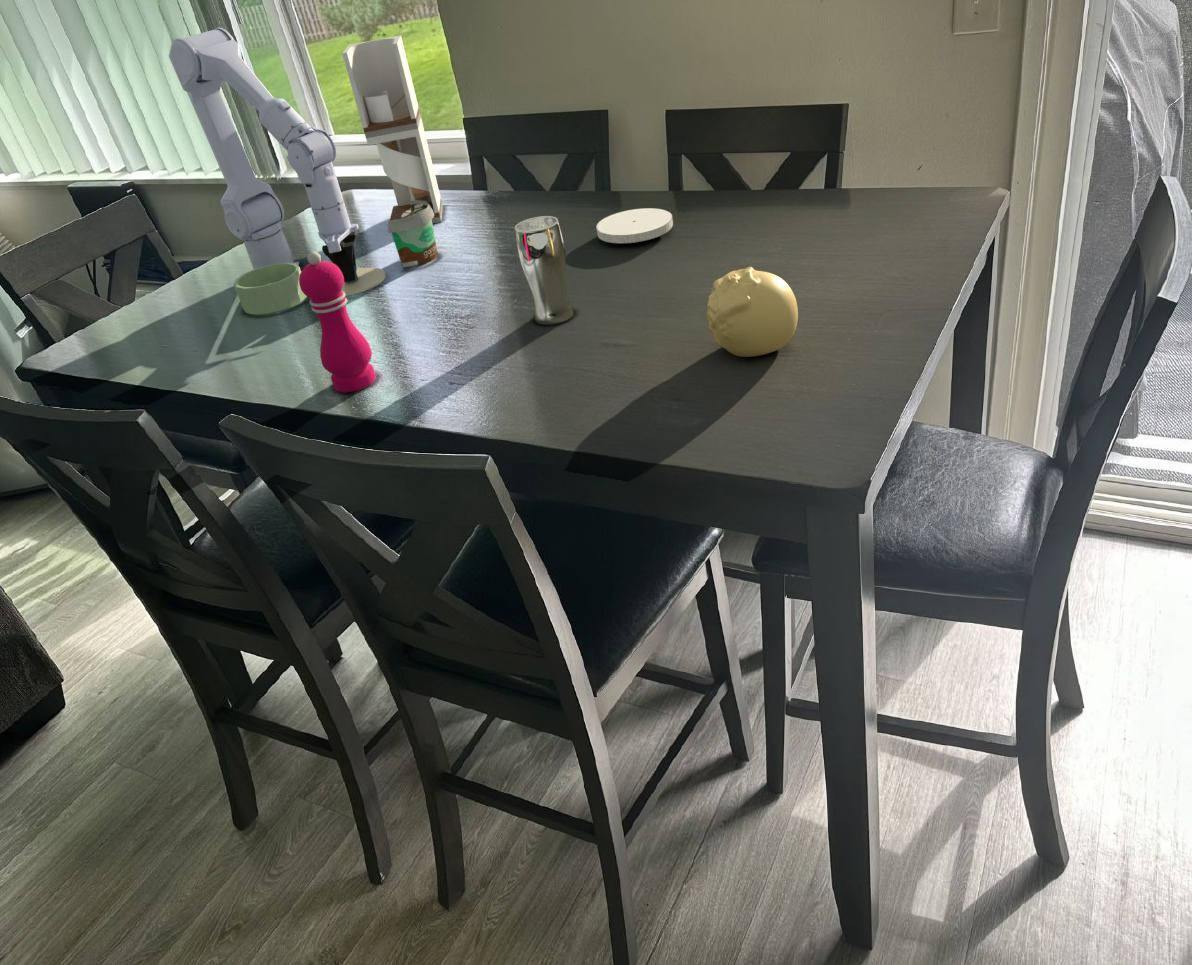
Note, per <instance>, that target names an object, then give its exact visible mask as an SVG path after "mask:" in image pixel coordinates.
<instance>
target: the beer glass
mask: <svg viewBox="0 0 1192 965" xmlns="http://www.w3.org/2000/svg"><path fill="white" fill-rule="evenodd" d="M514 231H515V238H516V245H517V246H516V247H517V251H518V257H519V261H520V265H521V267H522V271H523V274H524V277H525V278H526V282H527V284H528V286H529V289H530V291H531V294H532V298H533V304H534V320H535V322H536V323H537V324H539V325H543V326H552V325H559V324H561V323H564V322H567V321H569V320H570V319H571V318H572V317H573V315H574V310H573V307H572V305H571V302H570V300H569V295H568V290H567V256H566V255H567V254H566V248H565V242H564V238H563V234H562V229H561V227H560V223H559V218H558V217H556V216H552V215H542V216H535V217H531V218H527V219H524V220H522V221H519V222H518V223H517V224H515V226H514Z"/></svg>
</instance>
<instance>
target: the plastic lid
mask: <svg viewBox="0 0 1192 965" xmlns="http://www.w3.org/2000/svg"><path fill="white" fill-rule="evenodd" d="M673 227H674V220H673V214H672V213H671V212H670V211H668V210H665V209H661V208H654V207H653V208H652V207H650V208H649V207H647V208H646V207H645V208H634V209H628V210H624V211H619V212H616V213H613V214H610V215H608V216H605V217H604V218H603V219H601V220H599V221H598V222H597V224H596V235H597V237H598V239H599V240H601V241H603V242H606V243H611V244H632V243H633V244H635V243H639V242H645V241H649V240H652V239H655V238H658V237H661V236H663V235H665V234H667V233H668V232H669V231H671V230H672V228H673Z"/></svg>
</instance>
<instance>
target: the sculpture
mask: <svg viewBox="0 0 1192 965" xmlns="http://www.w3.org/2000/svg"><path fill="white" fill-rule="evenodd" d="M798 308H799V307H798V303H797V299H796V296H795V294H794V292H793V290H792V288H791V286H790V285H789V284H788V283H787V281H785V280H784V279H783V278H781V277H780V276H778V275H776V274H774V273H771V272H768V271H762V270H756V269H754V268H753V267H752V266H748V267H746V268H742V269H737V270H732V271H730V272H728V273H726V274H725V275H723V277H721V278H718V279H716V280H715V281H714V282H713V284H712V288H711V294H710V295H708V302H707V312H706V320H707V322H708V323H709V325H708V331H709V332H710V333H712V335H713V339H714V341H715V343H717V345H718V346H719V347H720V348H723V349H724V350H726V351H727V352H729V353H730V354H731V355H734V356H736V357H742V358H747V357H748V358H750V357H758V356H759V357H760V356H763V355H767V354H770V353H773V352H776V351H779V350H780V349H782V348H784V347H786V346H787V345H788V344H789V343H790V342H791V340H792V338H793V337H794V335H795V332H796V329H797V326H798V319H799V309H798Z"/></svg>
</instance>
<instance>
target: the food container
mask: <svg viewBox="0 0 1192 965" xmlns="http://www.w3.org/2000/svg"><path fill="white" fill-rule="evenodd" d="M410 204H411V206H410V207H409V208H408V209H407V210H406V211H403V212H401V213H400V215H399V216H398V218H397V219H396V220H390V219H389V220H387V226H388V232H389V233H390V234H391V236H392V239H393V243H394V245H395V249H396V251H397V254H398V257H399V261H400V263H401V266H402V269H411V268H416V267H419V266H423V265H425V264H428V263H430V262H432V261H434V260H435V259H436V258H437V257H438V248H437V242H436V236H435V231H434V226H433V224H432V218H433V217H434V213H433V210H432V208H431V207H430V205H429V204H428V203H427V202H425V201H421V200H412V201H410Z"/></svg>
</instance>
